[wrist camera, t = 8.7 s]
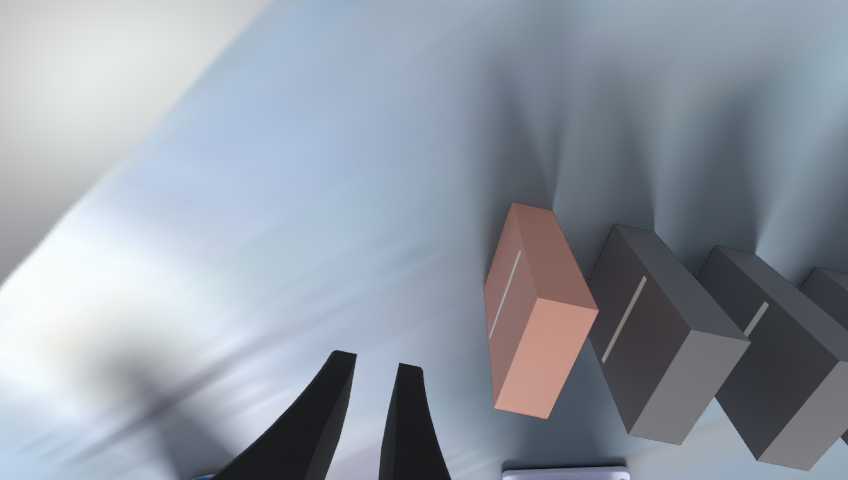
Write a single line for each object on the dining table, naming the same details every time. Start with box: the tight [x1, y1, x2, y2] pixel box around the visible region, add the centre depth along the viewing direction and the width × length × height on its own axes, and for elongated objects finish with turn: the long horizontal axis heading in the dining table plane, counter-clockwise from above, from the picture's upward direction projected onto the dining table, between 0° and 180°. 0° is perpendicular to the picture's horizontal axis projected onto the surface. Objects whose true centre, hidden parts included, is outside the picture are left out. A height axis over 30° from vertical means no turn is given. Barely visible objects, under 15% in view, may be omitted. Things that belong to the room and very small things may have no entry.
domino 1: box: [587, 224, 751, 445], centre depth 19 cm, size 2×5×8 cm, turn 169°
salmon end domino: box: [484, 202, 599, 419], centre depth 19 cm, size 2×5×8 cm, turn 168°
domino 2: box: [696, 245, 848, 471], centre depth 19 cm, size 2×5×8 cm, turn 169°
